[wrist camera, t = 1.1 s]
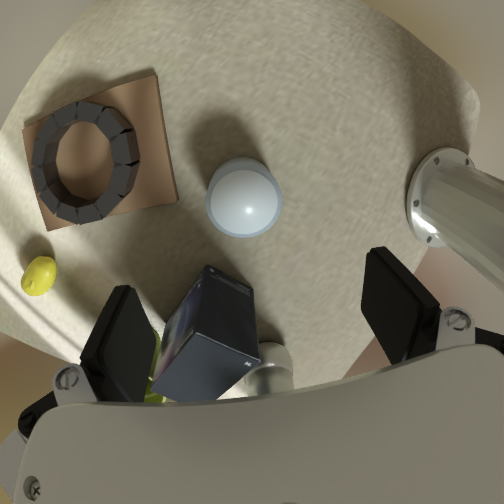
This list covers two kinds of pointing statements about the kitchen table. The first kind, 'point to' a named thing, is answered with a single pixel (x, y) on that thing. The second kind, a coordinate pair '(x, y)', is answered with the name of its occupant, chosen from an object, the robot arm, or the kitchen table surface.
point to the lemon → (39, 276)
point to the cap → (243, 198)
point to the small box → (207, 340)
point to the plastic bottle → (270, 371)
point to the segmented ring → (122, 153)
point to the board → (100, 157)
